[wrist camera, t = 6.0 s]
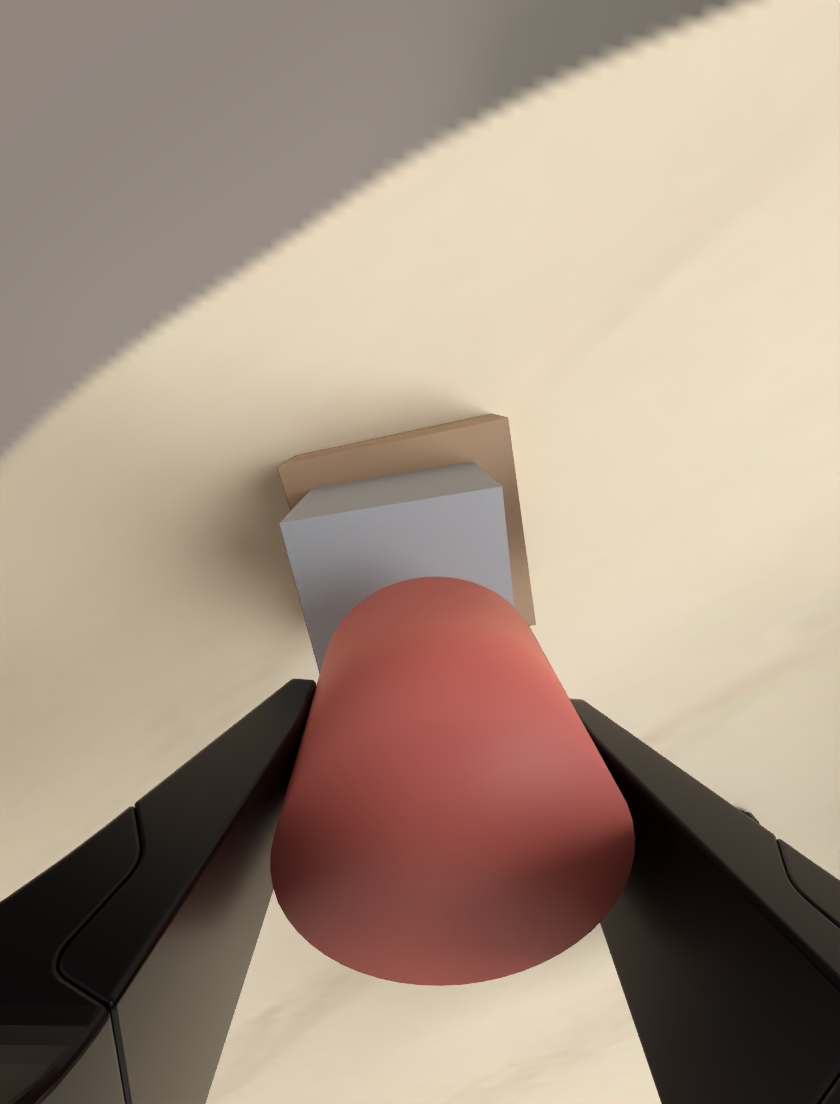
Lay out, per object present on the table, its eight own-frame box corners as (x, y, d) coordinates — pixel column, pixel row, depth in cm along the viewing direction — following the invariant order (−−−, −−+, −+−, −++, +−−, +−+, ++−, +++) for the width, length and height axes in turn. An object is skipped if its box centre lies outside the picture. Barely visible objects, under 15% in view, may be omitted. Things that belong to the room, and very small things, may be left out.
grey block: (491, 609, 16) (521, 677, 12) (346, 632, 16) (328, 708, 12) (474, 461, 14) (502, 486, 10) (311, 488, 14) (279, 523, 10)
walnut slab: (515, 589, 19) (535, 624, 16) (347, 623, 19) (338, 664, 16) (489, 413, 16) (508, 417, 14) (298, 454, 17) (277, 466, 14)
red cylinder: (550, 741, 10) (641, 953, 6) (353, 779, 10) (325, 1009, 6) (526, 555, 9) (626, 684, 5) (296, 602, 9) (216, 764, 5)
